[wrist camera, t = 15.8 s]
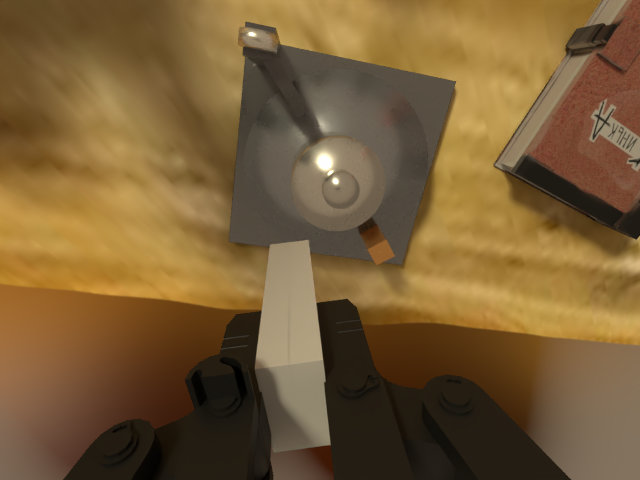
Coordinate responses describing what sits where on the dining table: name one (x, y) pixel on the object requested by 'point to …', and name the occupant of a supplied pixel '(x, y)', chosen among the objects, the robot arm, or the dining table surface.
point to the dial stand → (269, 60)
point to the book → (588, 123)
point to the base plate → (260, 87)
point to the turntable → (356, 121)
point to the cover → (336, 181)
